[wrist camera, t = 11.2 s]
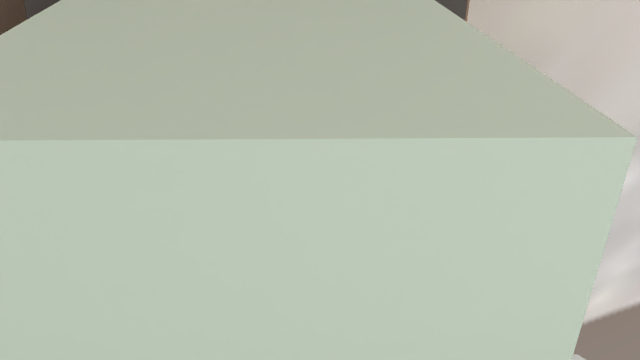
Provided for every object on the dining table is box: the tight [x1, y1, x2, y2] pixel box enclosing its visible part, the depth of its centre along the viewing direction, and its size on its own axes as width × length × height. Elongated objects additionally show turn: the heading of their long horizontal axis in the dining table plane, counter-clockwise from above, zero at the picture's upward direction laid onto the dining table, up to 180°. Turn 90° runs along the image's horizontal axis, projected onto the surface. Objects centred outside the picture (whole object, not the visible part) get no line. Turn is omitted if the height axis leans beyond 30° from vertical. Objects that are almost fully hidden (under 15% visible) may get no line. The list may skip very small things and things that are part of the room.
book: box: [0, 0, 637, 360], centre depth 9 cm, size 4×9×10 cm, turn 178°
